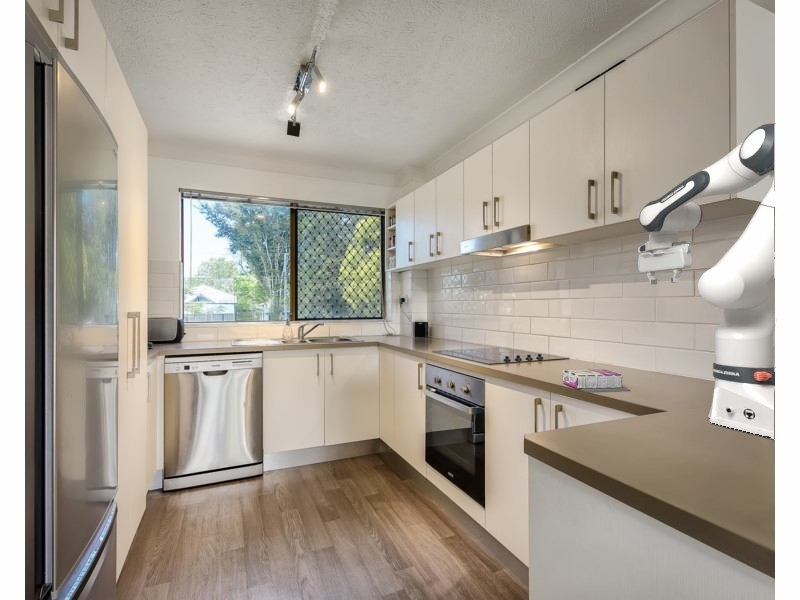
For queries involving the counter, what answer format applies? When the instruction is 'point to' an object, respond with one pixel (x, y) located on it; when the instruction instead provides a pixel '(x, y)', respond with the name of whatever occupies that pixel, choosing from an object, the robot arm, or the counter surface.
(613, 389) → the mat
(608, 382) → the candy bar box
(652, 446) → the counter surface
